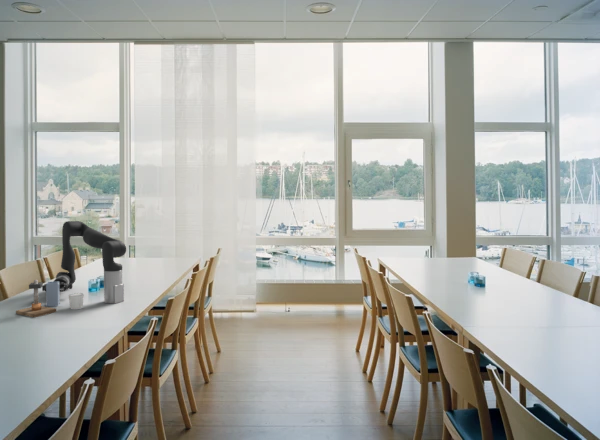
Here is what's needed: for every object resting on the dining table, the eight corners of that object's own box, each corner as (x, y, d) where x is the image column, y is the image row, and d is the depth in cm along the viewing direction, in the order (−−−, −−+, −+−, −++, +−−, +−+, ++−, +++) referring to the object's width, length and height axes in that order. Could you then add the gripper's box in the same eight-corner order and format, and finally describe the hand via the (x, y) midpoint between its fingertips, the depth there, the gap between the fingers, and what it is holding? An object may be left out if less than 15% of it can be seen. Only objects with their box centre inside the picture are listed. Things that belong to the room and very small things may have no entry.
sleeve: (59, 303, 225) (59, 281, 225) (58, 305, 220) (57, 283, 220) (48, 304, 224) (48, 281, 223) (46, 306, 219) (46, 283, 218)
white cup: (80, 305, 222) (80, 292, 222) (86, 307, 218) (86, 294, 218) (66, 307, 217) (66, 294, 217) (72, 310, 213) (72, 296, 212)
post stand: (56, 311, 210) (55, 279, 209) (34, 317, 200) (34, 283, 199) (38, 308, 216) (37, 276, 215) (16, 313, 206) (15, 280, 205)
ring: (42, 286, 210) (42, 282, 210) (40, 288, 206) (40, 284, 205) (31, 286, 208) (31, 282, 208) (29, 288, 204) (28, 284, 204)
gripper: (46, 277, 240) (40, 283, 225) (74, 276, 245) (70, 281, 230) (46, 290, 240) (40, 297, 225) (74, 289, 245) (70, 295, 230)
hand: (55, 289), depth 227 cm, fingers open, 8 cm apart
